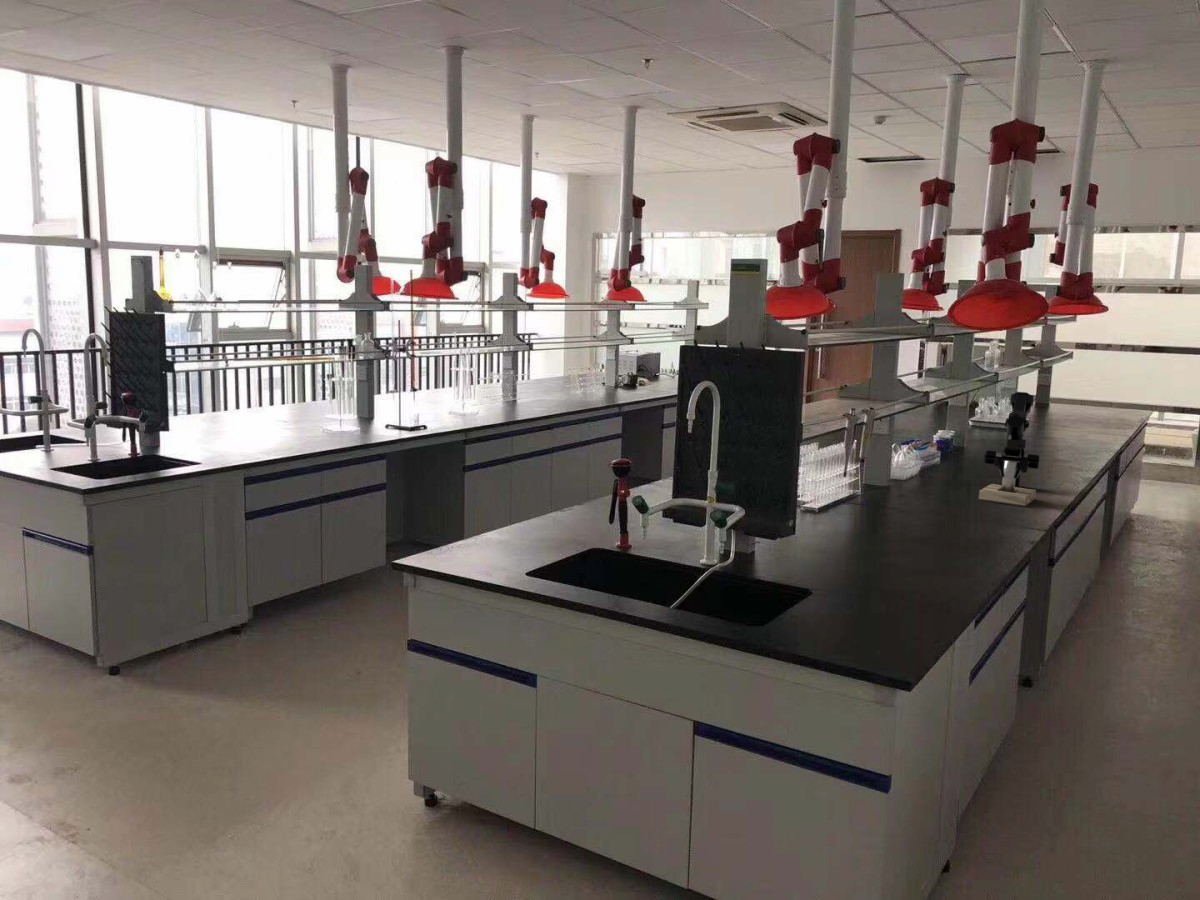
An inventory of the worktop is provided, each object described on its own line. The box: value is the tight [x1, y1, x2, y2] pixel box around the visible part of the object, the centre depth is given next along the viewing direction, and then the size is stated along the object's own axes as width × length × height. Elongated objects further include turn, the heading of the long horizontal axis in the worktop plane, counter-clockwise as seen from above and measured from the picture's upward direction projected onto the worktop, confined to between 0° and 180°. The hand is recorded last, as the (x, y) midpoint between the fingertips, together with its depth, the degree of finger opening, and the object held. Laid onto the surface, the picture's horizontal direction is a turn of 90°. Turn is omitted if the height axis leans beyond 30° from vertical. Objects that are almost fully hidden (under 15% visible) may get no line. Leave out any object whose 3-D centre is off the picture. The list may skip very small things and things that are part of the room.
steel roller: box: [1001, 460, 1017, 493], centre depth 343 cm, size 4×4×12 cm
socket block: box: [978, 483, 1037, 508], centre depth 344 cm, size 16×16×4 cm
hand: (1008, 477), depth 342 cm, fingers closed on steel roller, 4 cm apart
